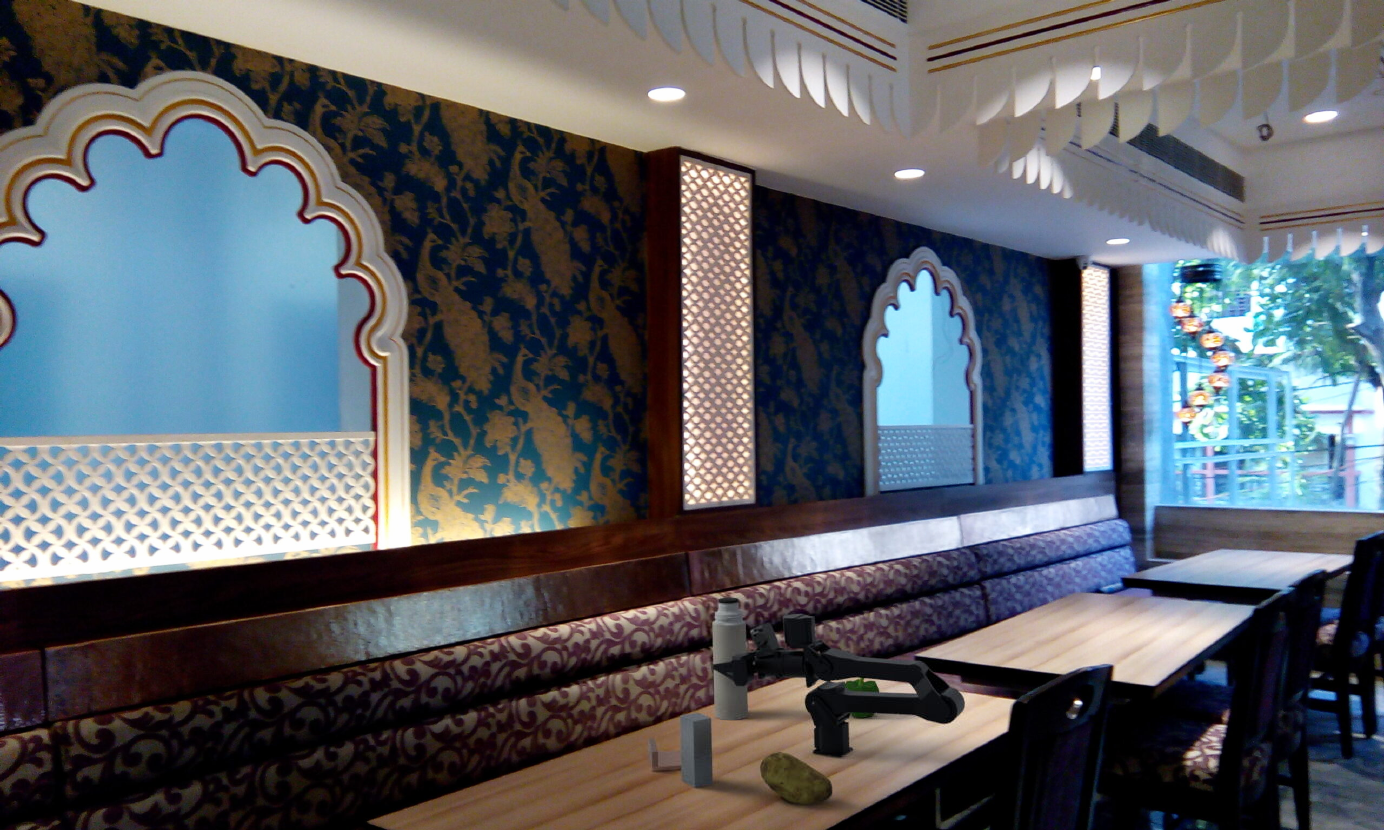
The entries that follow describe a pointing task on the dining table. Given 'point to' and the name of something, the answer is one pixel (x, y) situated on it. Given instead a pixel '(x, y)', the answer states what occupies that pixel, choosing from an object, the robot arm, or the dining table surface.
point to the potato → (795, 779)
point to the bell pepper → (862, 687)
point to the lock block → (696, 750)
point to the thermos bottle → (729, 659)
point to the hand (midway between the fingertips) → (723, 662)
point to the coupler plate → (663, 758)
